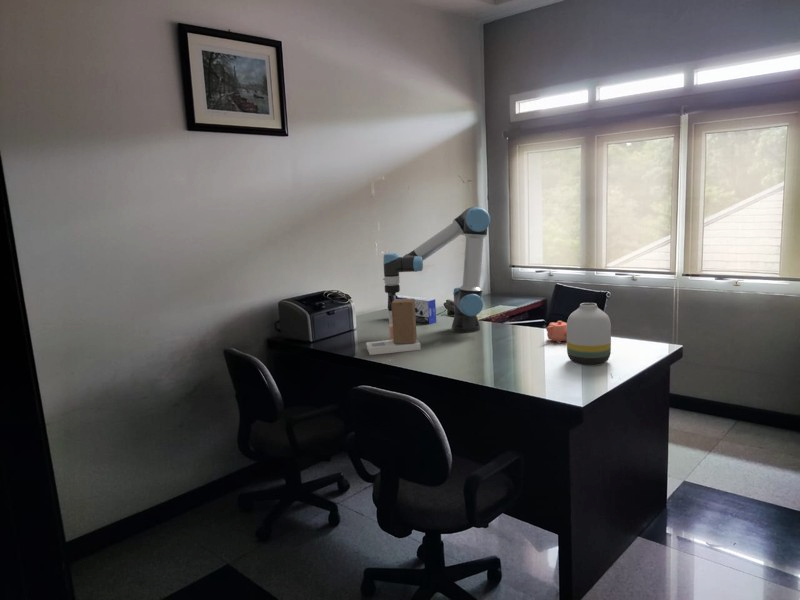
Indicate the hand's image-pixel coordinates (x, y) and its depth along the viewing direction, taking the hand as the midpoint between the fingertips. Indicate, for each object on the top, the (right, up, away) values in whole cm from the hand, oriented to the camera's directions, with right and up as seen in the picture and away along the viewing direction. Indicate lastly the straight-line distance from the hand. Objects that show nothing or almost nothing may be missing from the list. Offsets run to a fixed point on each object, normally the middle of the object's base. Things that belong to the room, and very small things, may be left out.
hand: (393, 325), depth 283 cm
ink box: (+12, 0, +48) cm, 49 cm away
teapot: (+79, -7, -20) cm, 81 cm away
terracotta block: (+1, -7, +1) cm, 8 cm away
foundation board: (0, -10, -16) cm, 19 cm away
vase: (+80, -12, -56) cm, 98 cm away
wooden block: (+6, -7, -15) cm, 18 cm away
